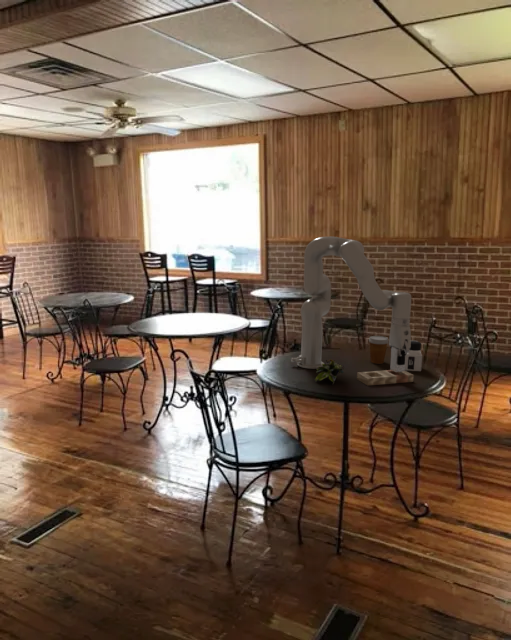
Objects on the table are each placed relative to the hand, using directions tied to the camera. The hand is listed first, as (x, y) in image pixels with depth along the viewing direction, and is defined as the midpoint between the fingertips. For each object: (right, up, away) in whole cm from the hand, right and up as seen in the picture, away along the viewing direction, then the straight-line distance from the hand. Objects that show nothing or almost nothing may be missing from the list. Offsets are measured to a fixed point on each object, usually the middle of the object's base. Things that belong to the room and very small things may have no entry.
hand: (397, 362), depth 229 cm
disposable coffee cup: (-2, -2, +29) cm, 29 cm away
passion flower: (-30, -8, -4) cm, 31 cm away
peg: (0, -3, +1) cm, 3 cm away
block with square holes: (-6, -8, 0) cm, 9 cm away
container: (+11, -4, +19) cm, 22 cm away
